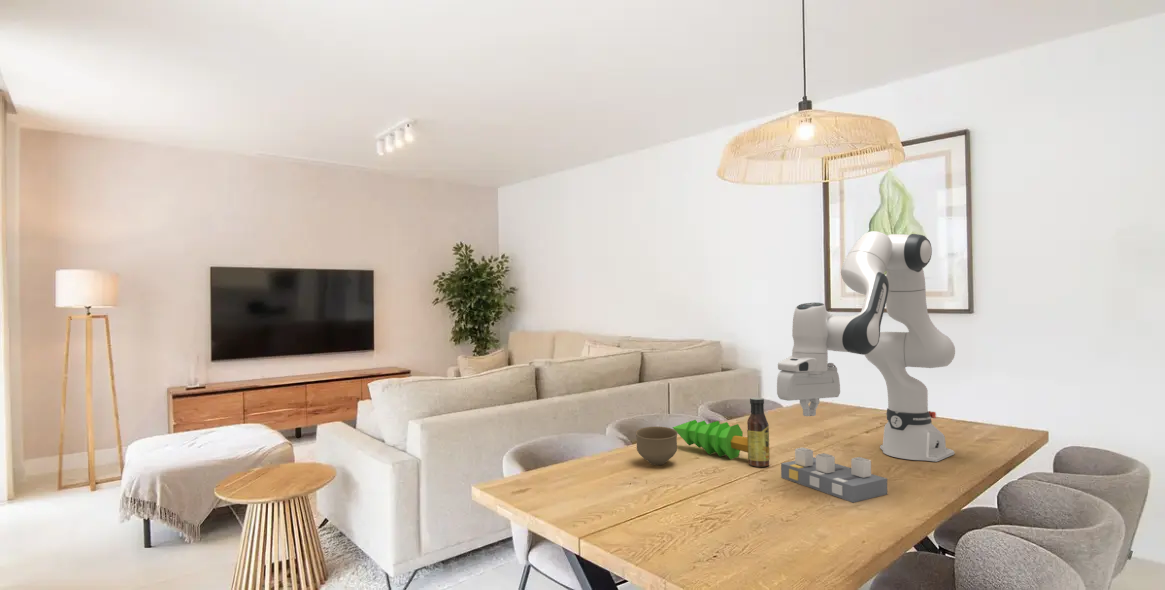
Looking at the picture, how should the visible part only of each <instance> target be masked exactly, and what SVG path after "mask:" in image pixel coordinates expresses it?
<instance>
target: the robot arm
mask: <svg viewBox="0 0 1165 590" xmlns="http://www.w3.org/2000/svg"><path fill="white" fill-rule="evenodd" d="M932 252H933V248H932V244H931V242H930V240H929V239H928V238H927V236H926V235H923V234H918V233H911V234H905V233H904V234H903V233H900V234H899V233H892V234H891V233H889V234H885V233H884V232H881V231H876V230H873V231H867V232H865V233H863V234H862V235H860V237H859V238H858V239H857V240H856V242H855V243H854V244H853V245H852V247H851V249H850V250H849V252H848V254H847V255H846V256H845V257H846V258H844V261H843V263H842V265H841V268H840V269H841V270H840V276H841V279H842V281H843V282H844V284H845V285H846V286H847V287H848V288H849V289H851V290H853V291H854V292H856V293H859V294H863V295H864V300H863V304H862V307H861V311H860V312H858V313H857V314H855V315H851V316H850V315H833V314H832V313H831V312H829V311H827V308H826V305H825V303H822V302H807V303H806V302H805V303H801V304H799V305H797V306H796V307H795V309H794V313H793V318H792V328H791V329H792V335H791V336H792V339H793V346H792V350H791V354H792V355H790V356H788V357H786V358H784V359H782V360H780V361H779V362H778V364H777V370H779V372H778V374H777V379H776V395H777V397H778V398H779V400H782V401H799V404H800V406H801V407H800V408H802V416H804V417H814V416H816V415H817V409H818V406H819V404H820V399H829V398H831V399H832V398H839V396H840V394H841V384H840V376H839V372H838V367H837V366H836V365H835V364H834V363H833V362H828V361H829V359H828V358H829V357H828V351H830V352H831V351H833V352H842V353H843V352H844V353H850V354H856V355H862V356H863V355H864V357H865V358H866V360H867V361H869V363H871V364H872V365H874V366H875V368H877V369H878V370H879V372H880V373H881V375H882V377H883V379H884V380H885V383H886V389H887V403H888V405H887V406H888V407H887V409H886V420H887V423H885V425H884V428H883V430H884V431H883V439H882V444H881V445H880V446H879V449H880V450H882V453H883V454H884V455H887V456H890V457H894V458H898V459H903V460H910V461H927V462H940V461H942V460H944V459H947V458H948V457H951V456H954V455H955V451H954V450H953V449H952V448H951V449H950V448H948V447H947V446H946V437H945V435H944V433H943V432H942V431H940V430H939V429H938V428H937V427H936V426H935V425H934V424H933V423H932V422H933V421H932V419H936V417H937V412H936V411H931V410H929V407H928V406H929V403H928V402H929V401H928V398H929V397H928V395H929V393H928V388H927V386H926V384H924V383H923V382H922V381H921V380H919V379H917V378H915V377H913V376H911V375H910V374H909V373H908V372H907V369H906V368H909V367H910V368H923V369H924V368H926V369H933V368H934V369H935V368H942V367H943V368H944V367H947V366H949V365H950V364H951V363H952V362H953V361H954V358H955V356H956V347H955V345H954V342H953V340H952V339H951V338H949V336H947V335H946V334H944V333H943V332H941V331H940V330H939V329H938V328H937V327H936V326H935V324H934V323H933V321H932V320H931V317H930V316H929V312H928V307H927V306H928V305H927V297H926V296H927V295H926V292H927V291H926V278H925V272H924V268H926V267H927V265H928V264H929V263H930V260H931V259H932ZM885 272H886V274H885ZM885 308H886V313H887V315H888V316H889V317H890V318H891V319H893V320H895V321H896V322H899V323H900V324H903V325H904V326H905V327H906V328H907V332H905V331H903V332H902V331H881V324H882V320H883V316H884V314H885V313H884V312H885Z"/></svg>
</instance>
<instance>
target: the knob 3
mask: <svg viewBox="0 0 1165 590" xmlns="http://www.w3.org/2000/svg"><path fill="white" fill-rule="evenodd" d="M850 460H851V461H850V463H851V466H850V468H851V474H852V475H856V476H859V477H862V478H865V477H869V476H871V474H872V460H871V459H868V458H866V457H865V458H864V457H861V456H857V457H852V458H850Z"/></svg>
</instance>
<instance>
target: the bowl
mask: <svg viewBox="0 0 1165 590" xmlns="http://www.w3.org/2000/svg"><path fill="white" fill-rule="evenodd" d="M678 435H679V434H678V433H677V431H676V430H674V429H673V428H670V427H667V426H666V427H665V426H646V427H642V428H639V429H637V430H636V431H635V437H636V450H637V452H638V455H640V456H641V458H642V459H644V460H646V461H647V462H648V463H649V464H650V465H652V466H662V465H665V464H666V463H667V462H668V461H669V460H671V459H672V458H673V457H674V456H675V454H676V453H677V451H678Z"/></svg>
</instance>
